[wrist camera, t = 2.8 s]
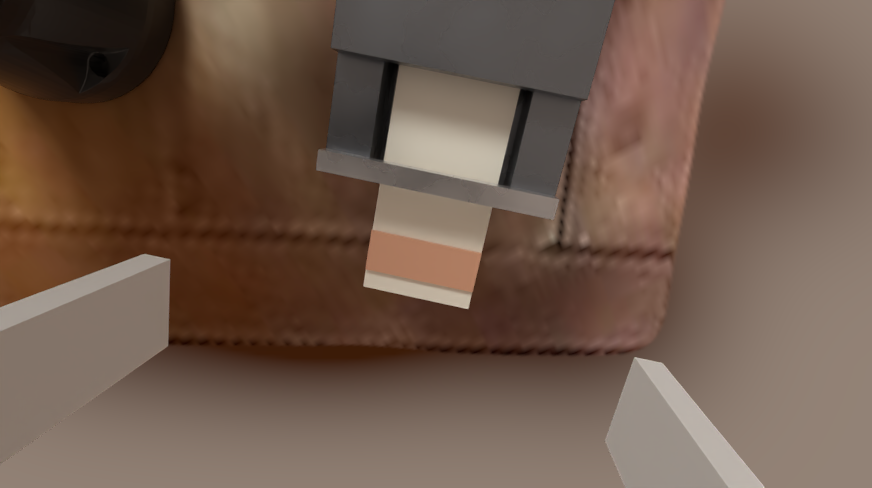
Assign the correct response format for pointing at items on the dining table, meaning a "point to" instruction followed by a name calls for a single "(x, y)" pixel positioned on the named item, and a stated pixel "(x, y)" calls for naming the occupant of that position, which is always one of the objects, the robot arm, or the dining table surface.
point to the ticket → (429, 214)
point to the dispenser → (475, 59)
